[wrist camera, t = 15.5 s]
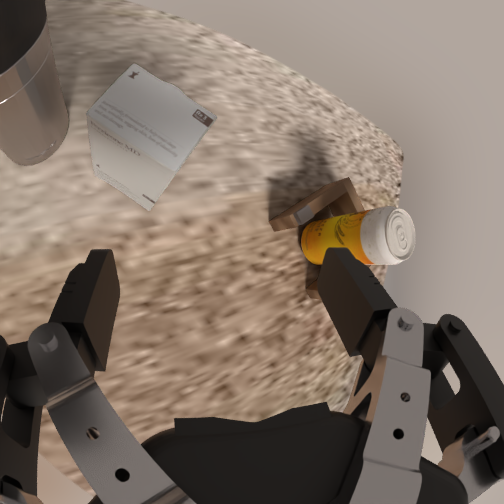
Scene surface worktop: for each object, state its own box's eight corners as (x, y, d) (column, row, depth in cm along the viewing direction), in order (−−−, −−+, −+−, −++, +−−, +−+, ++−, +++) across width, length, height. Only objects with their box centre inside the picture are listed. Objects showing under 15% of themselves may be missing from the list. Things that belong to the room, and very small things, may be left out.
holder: (268, 221, 37) (293, 214, 32) (326, 184, 41) (352, 175, 36) (310, 298, 39) (337, 302, 34) (359, 254, 44) (386, 252, 38)
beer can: (323, 215, 41) (408, 197, 27) (337, 254, 42) (422, 250, 28) (291, 230, 38) (377, 214, 25) (306, 272, 39) (394, 274, 26)
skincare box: (93, 176, 28) (75, 114, 15) (123, 135, 30) (131, 57, 16) (152, 214, 31) (174, 176, 18) (180, 171, 33) (221, 112, 19)
